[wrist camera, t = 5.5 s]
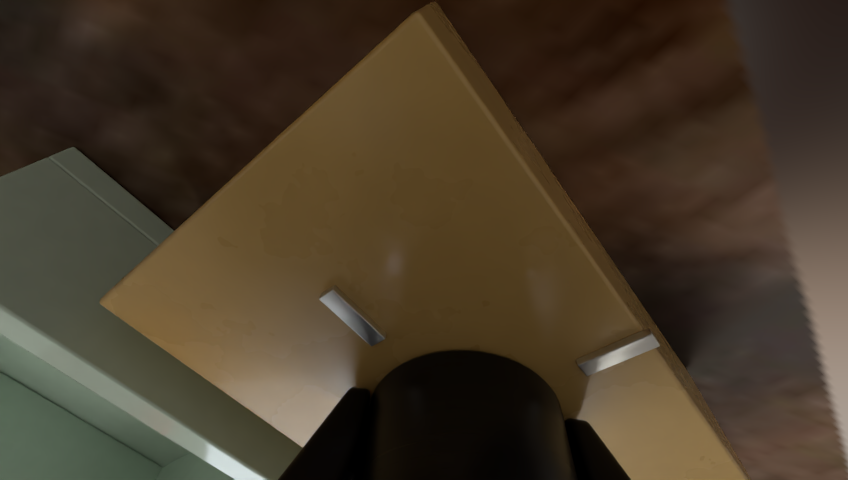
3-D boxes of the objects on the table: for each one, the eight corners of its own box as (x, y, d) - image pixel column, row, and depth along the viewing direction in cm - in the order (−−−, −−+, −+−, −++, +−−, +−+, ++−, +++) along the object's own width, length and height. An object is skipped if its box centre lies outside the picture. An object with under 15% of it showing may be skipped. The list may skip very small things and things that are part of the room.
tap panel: (691, 370, 13) (776, 512, 10) (475, 453, 16) (479, 583, 13) (438, -5, 8) (422, 2, 5) (201, 211, 12) (86, 311, 8)
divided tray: (330, 554, 22) (303, 670, 18) (-64, 316, 15) (-240, 427, 11) (496, 500, 18) (505, 633, 14) (74, 144, 11) (-126, 227, 7)
